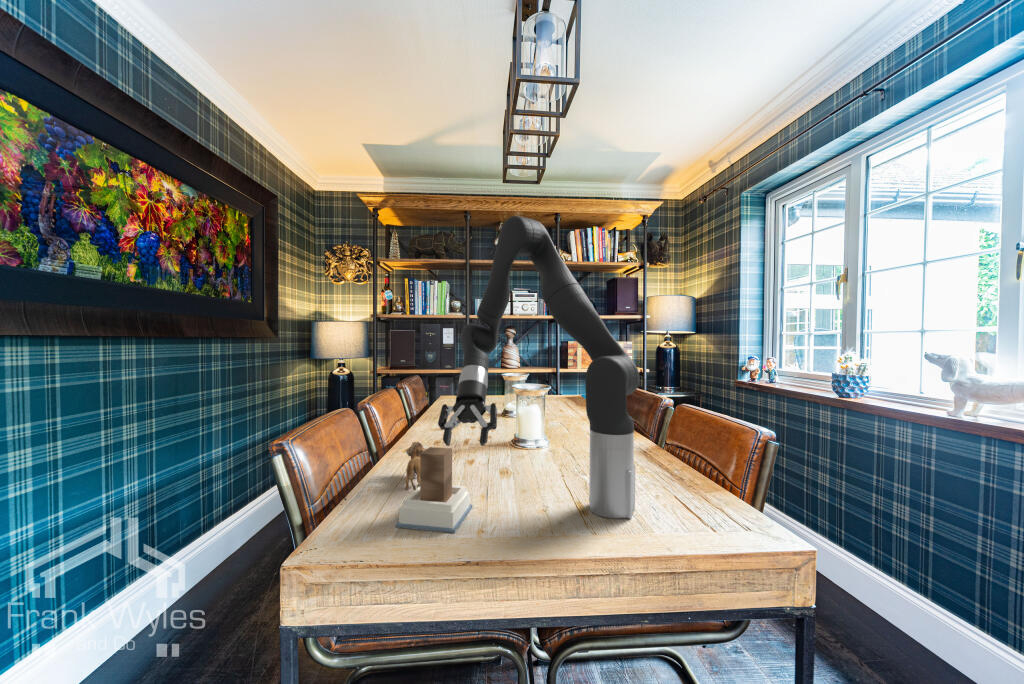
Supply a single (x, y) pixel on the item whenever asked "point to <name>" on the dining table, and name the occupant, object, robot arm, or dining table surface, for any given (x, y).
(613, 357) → the robot arm
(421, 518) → the pedestal base
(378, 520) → the dining table surface
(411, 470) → the lion figurine
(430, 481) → the walnut column
